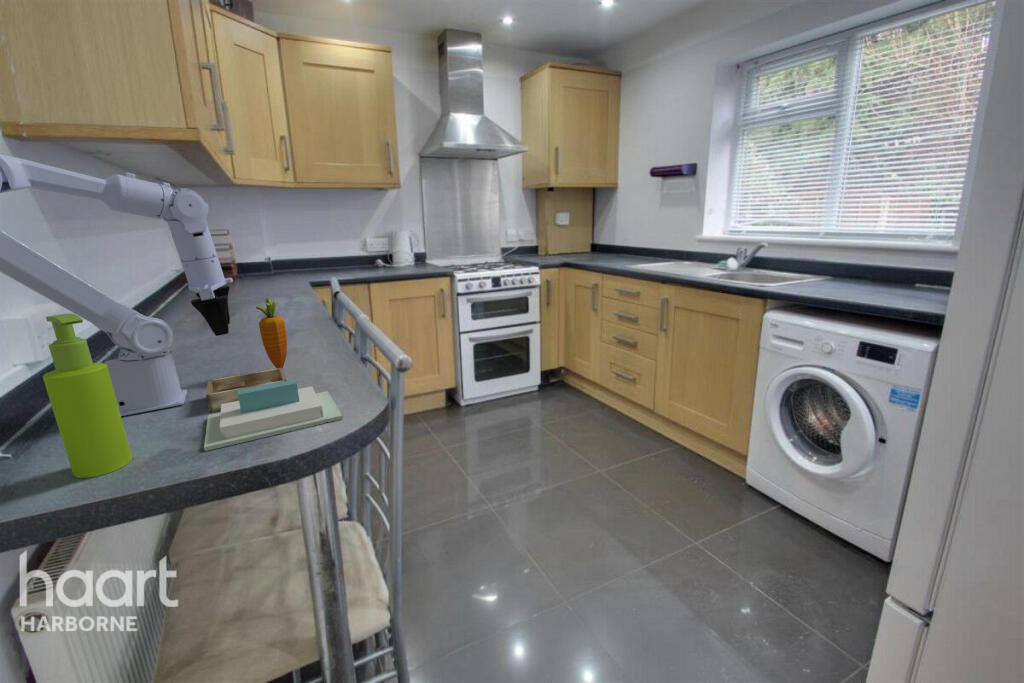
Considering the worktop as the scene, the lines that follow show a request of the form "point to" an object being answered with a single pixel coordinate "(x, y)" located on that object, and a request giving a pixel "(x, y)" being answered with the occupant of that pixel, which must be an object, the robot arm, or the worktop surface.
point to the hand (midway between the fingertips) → (223, 329)
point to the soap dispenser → (84, 404)
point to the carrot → (273, 334)
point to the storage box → (238, 386)
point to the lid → (268, 408)
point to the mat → (216, 441)
